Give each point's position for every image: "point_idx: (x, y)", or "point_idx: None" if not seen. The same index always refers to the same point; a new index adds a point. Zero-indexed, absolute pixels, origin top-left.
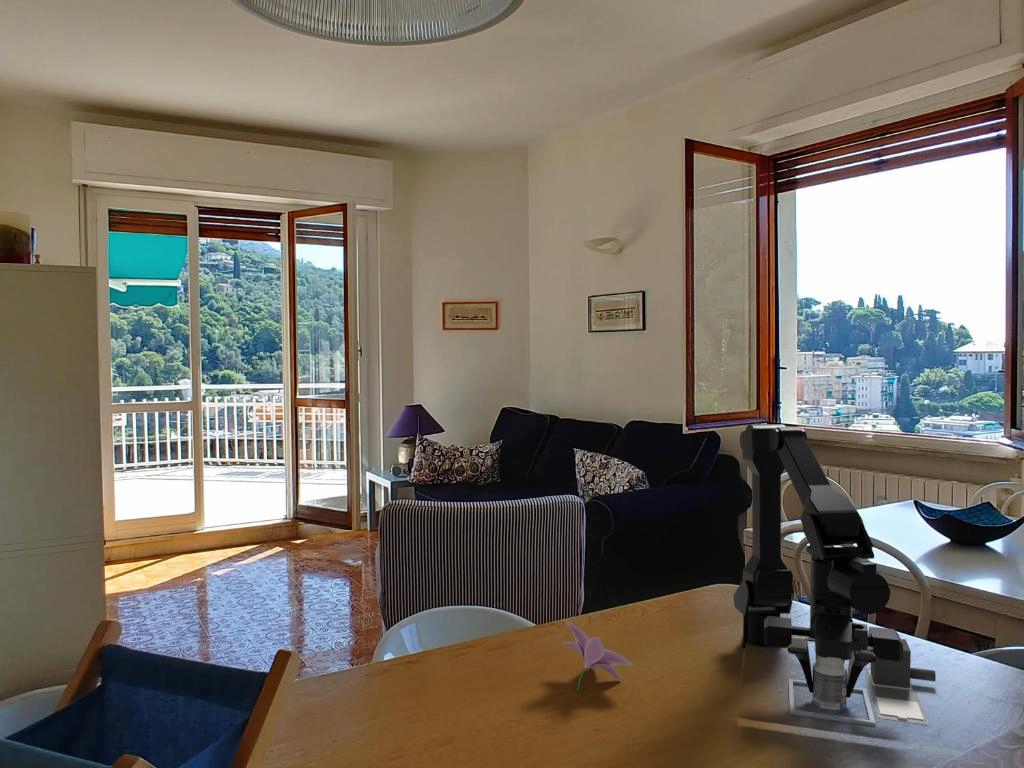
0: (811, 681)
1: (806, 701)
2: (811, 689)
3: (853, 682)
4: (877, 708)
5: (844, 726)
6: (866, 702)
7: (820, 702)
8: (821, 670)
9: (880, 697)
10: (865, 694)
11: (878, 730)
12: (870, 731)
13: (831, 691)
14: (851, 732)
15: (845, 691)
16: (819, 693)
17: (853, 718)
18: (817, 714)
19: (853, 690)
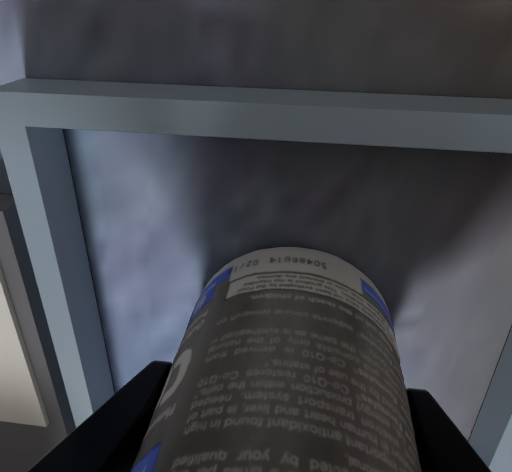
0: (443, 463)
1: (412, 369)
2: (421, 405)
3: (69, 452)
4: (24, 323)
5: None
6: (75, 359)
7: (360, 300)
8: None
9: (25, 423)
10: None
11: None
12: (51, 70)
13: (277, 352)
14: (172, 8)
15: (165, 384)
16: (373, 352)
17: (138, 124)
18: (423, 118)
19: None
